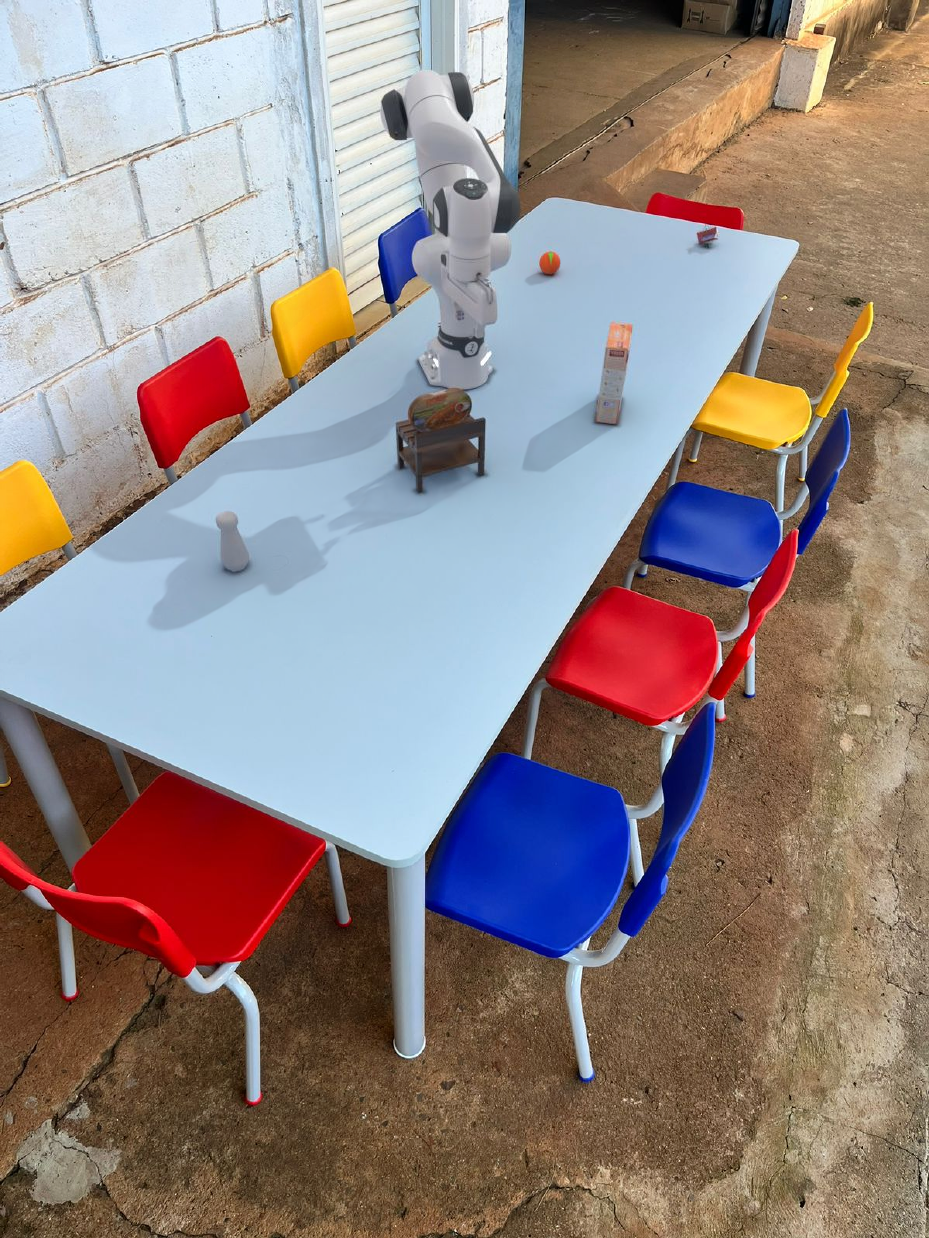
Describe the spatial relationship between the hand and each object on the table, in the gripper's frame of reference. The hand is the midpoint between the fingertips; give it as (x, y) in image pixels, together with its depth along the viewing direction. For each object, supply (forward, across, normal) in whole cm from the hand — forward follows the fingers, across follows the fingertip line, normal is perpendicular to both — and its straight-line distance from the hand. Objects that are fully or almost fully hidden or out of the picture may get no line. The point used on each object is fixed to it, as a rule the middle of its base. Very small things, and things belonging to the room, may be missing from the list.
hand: (468, 327), depth 197 cm
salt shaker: (+31, -19, +63) cm, 73 cm away
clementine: (+31, +81, -70) cm, 112 cm away
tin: (+19, -6, +10) cm, 22 cm away
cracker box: (+31, 0, -41) cm, 52 cm away
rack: (+31, -6, +10) cm, 33 cm away
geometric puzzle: (+31, +79, -132) cm, 157 cm away
